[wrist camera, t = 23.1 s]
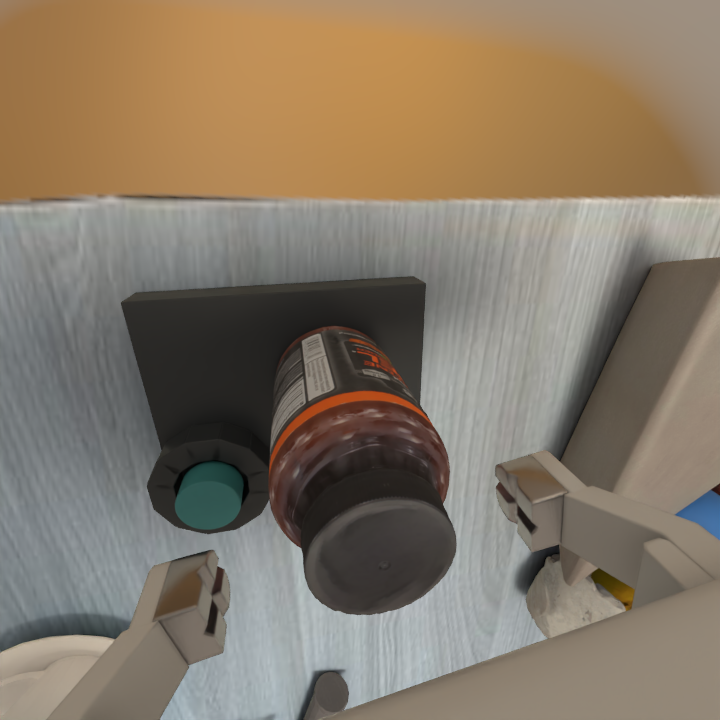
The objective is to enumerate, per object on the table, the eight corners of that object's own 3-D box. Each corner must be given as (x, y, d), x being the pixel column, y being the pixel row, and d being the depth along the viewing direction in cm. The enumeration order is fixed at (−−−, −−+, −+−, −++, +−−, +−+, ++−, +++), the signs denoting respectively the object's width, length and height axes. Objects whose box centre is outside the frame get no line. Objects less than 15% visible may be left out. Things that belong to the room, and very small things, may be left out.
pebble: (554, 524, 34) (505, 536, 33) (639, 582, 26) (578, 601, 25) (560, 612, 35) (512, 627, 34) (643, 694, 27) (584, 717, 26)
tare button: (188, 511, 20) (181, 534, 18) (176, 465, 19) (167, 486, 17) (247, 502, 20) (244, 524, 19) (239, 457, 19) (235, 477, 18)
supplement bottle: (409, 366, 20) (539, 535, 10) (338, 442, 21) (390, 666, 11) (324, 296, 18) (380, 425, 8) (249, 386, 19) (211, 604, 9)
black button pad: (179, 494, 23) (163, 541, 20) (125, 293, 18) (91, 312, 15) (407, 461, 25) (425, 499, 22) (414, 276, 20) (438, 290, 17)
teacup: (20, 596, 24) (-47, 697, 19) (201, 636, 28) (184, 726, 23) (-47, 708, 26) (-121, 822, 21) (128, 728, 31) (100, 826, 26)
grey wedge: (579, 541, 32) (753, 347, 27) (640, 610, 27) (871, 384, 22) (445, 493, 27) (630, 243, 22) (487, 567, 22) (744, 257, 17)
